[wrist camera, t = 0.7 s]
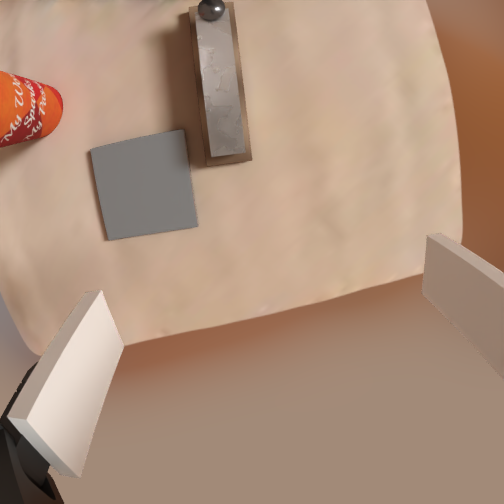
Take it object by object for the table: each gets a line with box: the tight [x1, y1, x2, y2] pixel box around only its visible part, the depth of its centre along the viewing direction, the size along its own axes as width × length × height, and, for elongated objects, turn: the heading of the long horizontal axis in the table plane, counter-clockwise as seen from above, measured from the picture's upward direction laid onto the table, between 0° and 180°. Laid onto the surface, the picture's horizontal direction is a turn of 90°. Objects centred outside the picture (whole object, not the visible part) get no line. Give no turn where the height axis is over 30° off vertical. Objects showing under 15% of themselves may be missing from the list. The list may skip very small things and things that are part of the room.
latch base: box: [189, 2, 252, 166], centre depth 27 cm, size 17×4×1 cm, turn 7°
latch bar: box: [195, 0, 246, 157], centre depth 25 cm, size 15×3×3 cm, turn 7°
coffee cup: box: [0, 71, 63, 148], centre depth 20 cm, size 8×8×15 cm
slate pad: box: [90, 129, 199, 240], centre depth 31 cm, size 10×10×1 cm
